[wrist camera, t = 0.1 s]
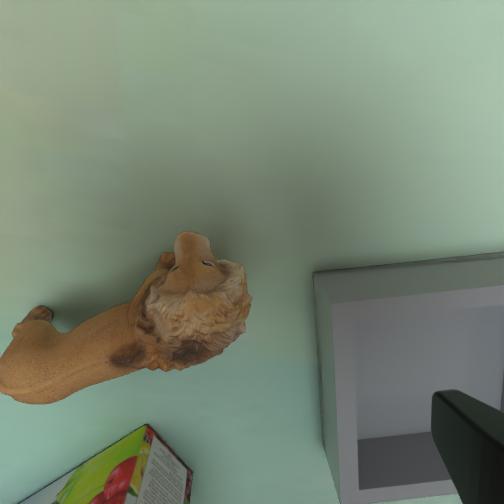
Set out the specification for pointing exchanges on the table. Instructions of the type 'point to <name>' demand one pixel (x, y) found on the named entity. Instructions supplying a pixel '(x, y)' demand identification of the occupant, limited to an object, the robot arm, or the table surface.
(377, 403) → the grey square tray
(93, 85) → the table surface
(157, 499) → the snack box
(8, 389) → the lion figurine
